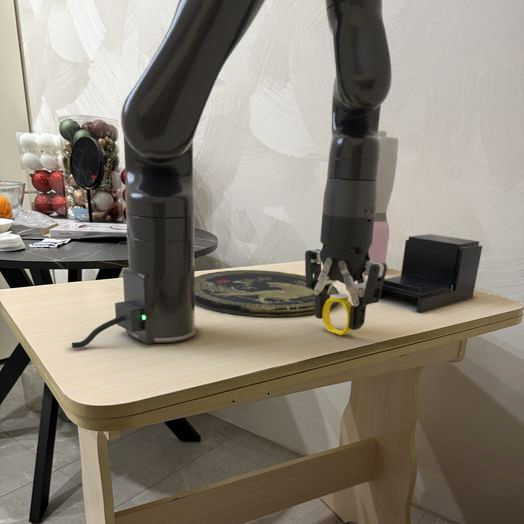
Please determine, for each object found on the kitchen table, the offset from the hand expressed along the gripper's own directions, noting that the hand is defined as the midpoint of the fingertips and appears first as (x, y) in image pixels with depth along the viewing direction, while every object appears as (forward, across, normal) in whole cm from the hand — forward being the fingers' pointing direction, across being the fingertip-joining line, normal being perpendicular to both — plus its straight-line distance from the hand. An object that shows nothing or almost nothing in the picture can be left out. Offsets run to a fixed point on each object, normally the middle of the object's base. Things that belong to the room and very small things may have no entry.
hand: (337, 322), depth 81 cm
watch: (+2, 0, 0) cm, 2 cm away
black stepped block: (+2, -5, +33) cm, 33 cm away
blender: (+2, -30, +46) cm, 55 cm away
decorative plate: (+2, -24, +6) cm, 25 cm away
